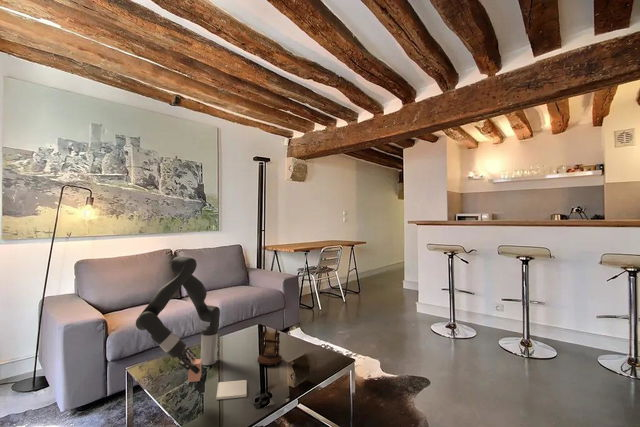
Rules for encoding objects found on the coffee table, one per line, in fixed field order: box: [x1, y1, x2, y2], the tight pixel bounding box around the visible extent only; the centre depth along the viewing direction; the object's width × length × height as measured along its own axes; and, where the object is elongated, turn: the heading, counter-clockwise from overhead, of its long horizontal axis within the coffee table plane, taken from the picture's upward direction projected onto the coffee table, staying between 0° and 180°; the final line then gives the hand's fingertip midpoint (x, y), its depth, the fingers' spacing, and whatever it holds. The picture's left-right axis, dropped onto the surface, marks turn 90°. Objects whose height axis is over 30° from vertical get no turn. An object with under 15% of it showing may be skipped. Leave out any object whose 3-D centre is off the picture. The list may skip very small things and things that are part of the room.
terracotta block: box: [187, 358, 202, 383], centre depth 145 cm, size 5×5×8 cm
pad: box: [215, 379, 248, 401], centre depth 156 cm, size 14×14×1 cm
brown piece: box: [257, 328, 283, 366], centre depth 190 cm, size 15×15×20 cm
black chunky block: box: [252, 392, 271, 410], centre depth 146 cm, size 12×7×5 cm, turn 121°
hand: (199, 369), depth 146 cm, fingers closed on terracotta block, 5 cm apart
